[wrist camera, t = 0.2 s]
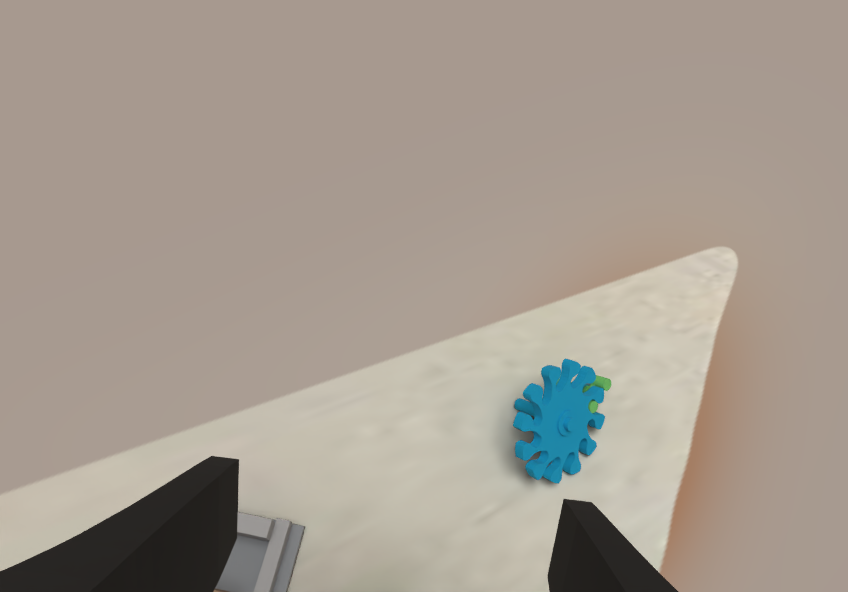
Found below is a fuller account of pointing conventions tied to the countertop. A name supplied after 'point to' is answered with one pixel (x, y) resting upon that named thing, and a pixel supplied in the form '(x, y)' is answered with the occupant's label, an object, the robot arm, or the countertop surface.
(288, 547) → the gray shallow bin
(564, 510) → the robot arm
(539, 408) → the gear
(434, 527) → the countertop surface
